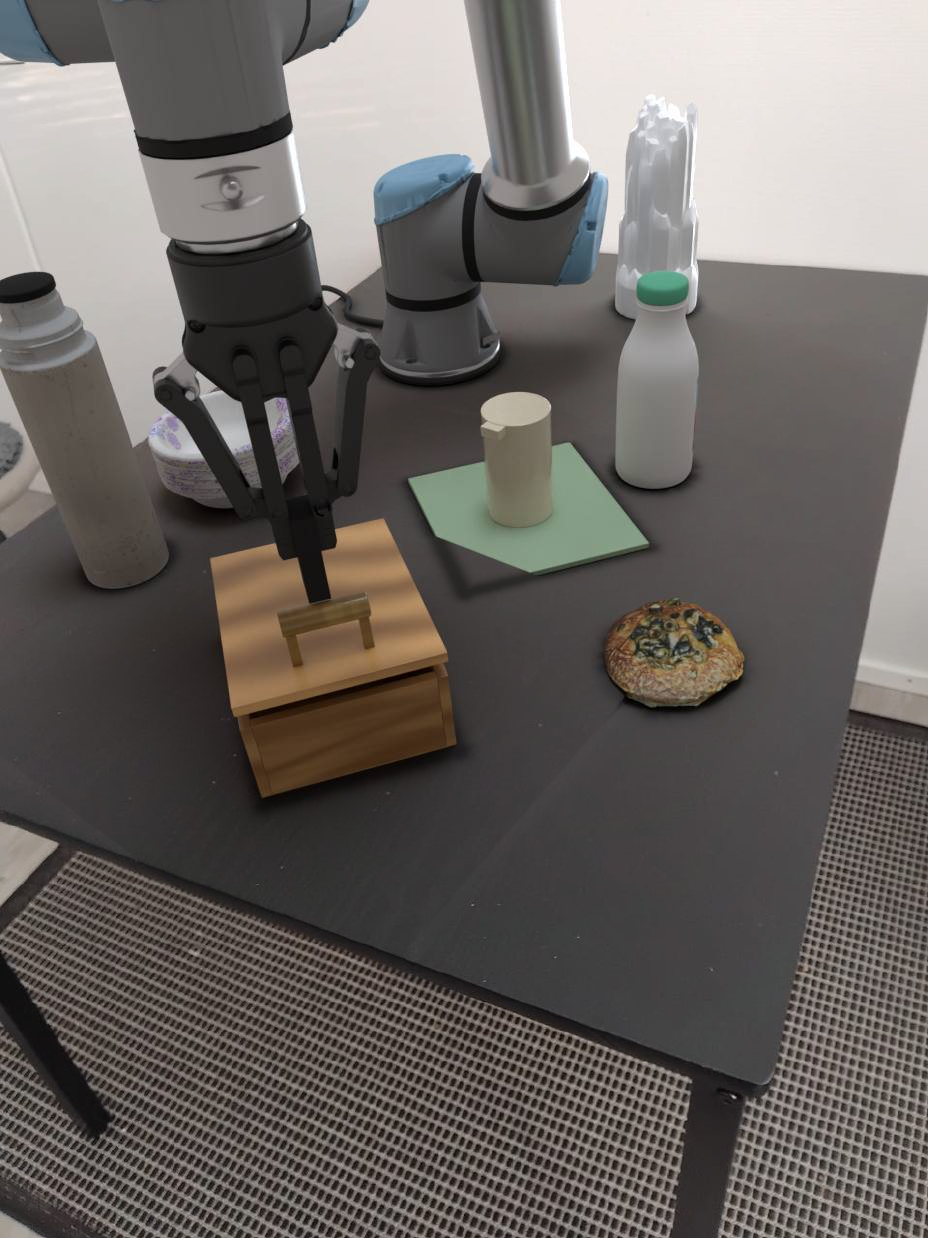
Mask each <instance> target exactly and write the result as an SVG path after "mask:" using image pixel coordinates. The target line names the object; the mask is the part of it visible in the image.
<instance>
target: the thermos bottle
mask: <svg viewBox="0 0 928 1238" xmlns="http://www.w3.org/2000/svg"><path fill="white" fill-rule="evenodd" d="M56 287H57V282H56V280H55V277H54V276H53V274H52V273H50V272H46V271H26V272H21V273H17V274H13V275H10V276H7V277H4V278H1V279H0V319H1V321H0V350H1V351H0V372H1V374H2V378H3V380H4V382H5V384H6V387H7V389H8V391H9V393H10V396H11V398H12V401H13V404H14V405H15V409H16V410H17V413H18V415H19V418H20V420H21V423H22V425H23V428H24V430H25V432H26V434H27V437H28V439H29V442H30V444H31V447H32V450H33V452H34V454H35V457H36V458H37V461H38V463H39V466H40V468H41V470H42V473H43V475H44V478H45V480H46V482H47V485H48V488H49V490H50V492H51V495H52V497H53V499H54V501H55V504H56V507H57V509H58V511H59V514H60V516H61V519H62V521H63V524H64V527H65V528H66V531H67V533H68V535H69V539H70V540H71V543H72V546H73V547H74V550H75V552H76V554H77V557H78V560H79V562H80V564H81V566H82V569H83V571H84V572H83V573H84V574H85V576H86V578H87V580H88V581H89V582H90V583H91V584H93V585H94V586H96V587H98V588H102V589H110V590H115V589H116V590H117V589H125V588H130V587H133V586H137V585H139V584H142V583H144V582H147V581H148V580H150V579H152V578H153V577H155V576H156V575H157V574H159V573H160V572H161V571H162V570H164V568H165V567H166V565H167V563H168V561H169V557H170V552H169V548H168V546H167V542H166V539H165V536H164V533H163V531H162V530H163V529H162V527H161V525H160V522H159V519H158V517H157V513H156V511H155V508H154V504H153V501H152V498H151V495H150V493H149V489H148V486H147V484H146V481H145V478H144V475H143V472H142V469H141V467H140V464H139V462H138V458H137V455H136V453H135V450H134V447H133V444H132V440H131V437H130V434H129V430H128V428H127V426H126V422H125V419H124V416H123V413H122V410H121V408H120V405H119V401H118V398H117V396H116V393H115V390H114V387H113V383H112V381H111V378H110V375H109V371H108V369H107V366H106V364H105V361H104V358H103V355H102V352H101V349H100V346H99V343H98V340H97V337H96V336H95V334H94V333H92V332H91V331H89V330H88V329H84V326H83V325H84V320H83V319H82V318H81V317H80V315H79V312H78V311H77V310H76V309H74V308H73V307H70V306H67V305H64V302H63V299H62V296H61V294H60V292H59V290H57V288H56Z"/></svg>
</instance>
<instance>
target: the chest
mask: <svg viewBox="0 0 928 1238" xmlns="http://www.w3.org/2000/svg"><path fill="white" fill-rule="evenodd" d="M237 722H238V728H239V733H240V736H241V738H242V741H243V745H244V747H245V751H246V754H247V757H248V760H249V763H250V766H251V769H252V773H253V775H254V778H255V781H256V784H257V787H258V791H259V793H260V797H261V798H262V799H264V798H267V797H271V796H274V795H278V794H281V793H282V794H283V793H286V792H290V791H292V790H296V789H300V788H303V787H307V786H312V785H314V784H318V783H321V782H325V781H328V780H329V781H330V780H332V779H336V778H340V777H343V776H347V775H350V774H353V773H357V772H362V771H364V770H368V769H373V768H376V767H380V766H383V765H387V764H390V763H394V762H397V761H401V760H405V759H408V758H412V757H416V756H419V755H423V754H427V753H430V752H433V751H437V750H441V749H444V748H445V749H446V748H448V747H451V746H456V745H457V736H456V735H457V734H456V728H455V719H454V712H453V702H452V695H451V688H450V680H449V674H448V671H447V669H446V667H445V664H444V663H441V664H437V665H433V666H429V667H425V668H422V669H418V670H414V671H410V672H406V673H402V674H399V675H395V676H391V677H387V678H383V679H379V680H376V681H372V682H368V683H364V684H360V685H356V686H353V687H349V688H345V689H341V690H337V691H333V692H330V693H326V694H322V695H318V696H314V697H310V698H307V699H303V700H299V701H295V702H291V703H287V704H284V705H280V706H276V707H272V708H268V709H264V710H261V711H257V712H253V713H249V714H245V715H241V716H238V717H237Z"/></svg>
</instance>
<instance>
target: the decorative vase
mask: <svg viewBox="0 0 928 1238" xmlns="http://www.w3.org/2000/svg"><path fill="white" fill-rule="evenodd" d="M698 122H699V121H698V108H697V106H696V104H694V103H693V102H692V103H690V104H688V105H686V106H685V112H684V117H683V116H681V113H680V109H679V108H678V106H676V105H674V104H672V103H669V105H668V110H667V104H666V98H665V97H664V96H661V97H660V98H659V99H656V94H652V93H649V94H648V95H647V96H646V97H645V98H644V102H643V107H641V108H640V109H639V110H638V114H637V117H636V122H635V125H634V128H633V129H632V130H631V131H630V132H629V134H628V135H629V136H628V141H627V146H626V150H625V151H626V152H625V170H624V171H625V172H624V210H623V211H624V212H623V215H622V217H621V219H619V220H620V221H619V222H618V223H619V224H618V247H617V248H618V249H617V268H616V272H615V295H614V296H615V298H614V300H615V301H614V307H615V310H616V312H617V313H619V315H621V316H624V318H627V319H631V320H636V318H637V315H638V310H639V306H638V305H637V303H636V300H637V282H638V279H639V278H640V277H641V276H642V275H644V274H647V273H650V272H655V271H674V272H678V273H681V274H683V275H685V276H686V277H687V278H688V281H689V290H688V296H687V299H688V302H687V304H686V305H685V308H684V311H685V316H686V315H689V314H690V313H691V314H692V313H693V312H694V310H695V309H696V307H697V301H698V287H699V267H698V262H697V250H698V249H697V248H698V236H699V214H698V210H697V206H696V200H695V198H694V187H695V186H694V184H695V183H694V182H695V169H696V154H697V140H698V126H699V124H698Z"/></svg>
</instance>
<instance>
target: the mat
mask: <svg viewBox="0 0 928 1238" xmlns="http://www.w3.org/2000/svg"><path fill="white" fill-rule="evenodd" d="M552 469H553V512H552V514H551V515H550V517H549V518H548V519H546V520H545V521H543V522H542V523H539V524H537V525H534V526H530V527H523V528H514V527H507V526H504V525H501V524H498V523H497V522H495V521H494V520H493V519H492V518H491V517H490V515H489V513H488V503H487V490H486V477H485V463H484V461H480V462H476V463H470V464H466V465H461V466H458V467H454V468H449V469H445V470H440V471H435V472H431V473H427V474H423V475H418V476H413V477H409V478H408V479H407V482H408V485H409V488H411V491H412V494H413V495H414V497H415V499H416V501H417V503H418V505H419V507H420V509H421V511H422V513H423V516H424V518H425V520H426V522H427V524H428V526H429V529H430V531H431V532H432V534H433V536H434V537H437V538H440V539H442V540H445V541H447V542H450V543H452V544H455V545H457V546H460V547H462V548H465V549H467V550H471V551H473V552H476V553H478V554H481V555H484V556H485V557H488V558H491V559H494V560H495V561H498V562H501V563H504V564H506V565H509V566H512V567H514V568H517V569H520V570H522V571H525V572H526V573H527V572H528V573H530V574H533V575H535V576H541V575H546V574H548V573H554V572H557V571H561V570H565V569H569V568H573V567H577V566H582V565H585V564H590V563H593V562H597V561H601V560H605V559H610V558H613V557H617V556H623V555H626V554H629V553H634V552H637V551H642V550H646V549H649V548H650V542H649V541H648V540H647V538H646V537H645V536H644V534H642V532H641V531H640V529H639V528H638V527H637V526H636V524H635V523H634V521H632V519H631V518H630V517H629V515H628V514H627V513H626V512H625V511H624V509H623V508H622V507H621V505H620V504H619V503H618V502H617V501H616V499H615V498H614V496H613V495H612V493H610V491H609V490H608V489H607V488H606V486H605V485H604V484H603V483H602V481H601V480H600V479H599V478H598V476H597V475H596V474H595V473H594V471H593V470H592V469H591V467H590V466H589V465H588V463H587V462H586V461H585V460H584V459H583V457H582V456H581V455H580V453H579V452H578V451H577V450H576V448H575V447H574V446H573V445H572V443H571V442H570V441H569V442H564V443H559V444H556V445H552Z"/></svg>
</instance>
